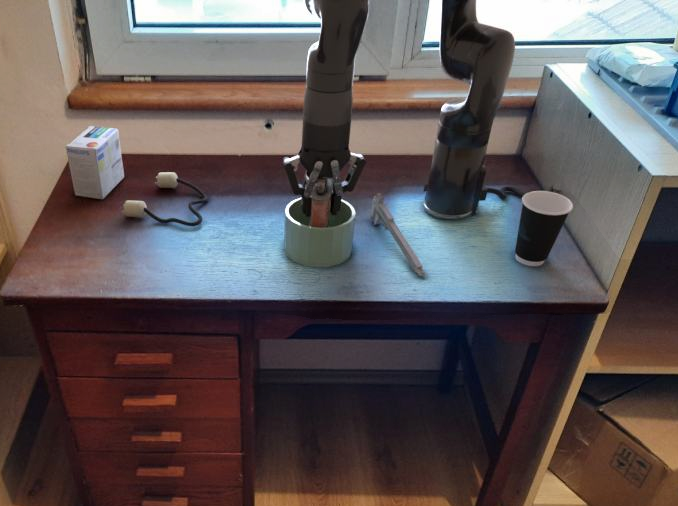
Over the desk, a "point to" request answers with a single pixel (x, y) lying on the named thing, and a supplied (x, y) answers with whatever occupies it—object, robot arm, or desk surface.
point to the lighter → (321, 203)
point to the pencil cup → (318, 236)
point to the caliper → (394, 231)
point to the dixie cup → (540, 225)
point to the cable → (164, 181)
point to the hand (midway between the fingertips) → (320, 213)
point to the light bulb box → (95, 162)
